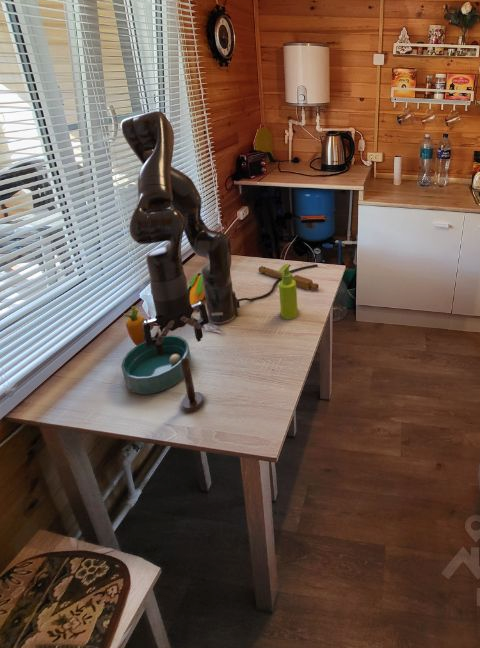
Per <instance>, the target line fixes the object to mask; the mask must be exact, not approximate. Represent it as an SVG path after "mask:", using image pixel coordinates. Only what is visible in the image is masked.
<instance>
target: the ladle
mask: <svg viewBox="0 0 480 648" xmlns="http://www.w3.org/2000/svg"><path fill="white" fill-rule="evenodd" d="M181 366H182V371H183V376H184V377H183V380H184V385H185V390H186V395H185V396H184V397H183V398H182V399H181V407H182V410H183V412H185V413H194V412H197V411H198V410H199V409H201V408H202V407H203V405H204V396H203V394H202V393H201V392H200V391H195V387H194V380H193V376H192V371H191V370H192V369H191V366H190V365H189V360H188V358H186V357H185V358H182V360H181Z"/></svg>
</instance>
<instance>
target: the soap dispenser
mask: <svg viewBox="0 0 480 648" xmlns="http://www.w3.org/2000/svg"><path fill="white" fill-rule="evenodd" d="M291 266H292V265H291V264H288V263H285V264H283V266H281V267H280V268H279V269H278V270H277V271H278V272H279V273H283V274H282V279H281V280H279V281H278V290H279V304H280V316H281V317H282V318H283V319H284V320H292V319H295V318H296V317H297V316H298V313H299V311H298V310H299V309H298V296H297V295H298V294H297V293H298V292H297V286H296V281H295V280H293V279H292V276H293V274H292V272H291V273H290V272H289V271H290V267H291Z"/></svg>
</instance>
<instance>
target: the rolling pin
mask: <svg viewBox="0 0 480 648" xmlns="http://www.w3.org/2000/svg"><path fill="white" fill-rule="evenodd" d="M258 272H259V273H261V274H265V275H267V276H270V277H274V278H278V279H279V278H280V280H282V274H283V273H279V272H278V270H275V269H273V268H269V267H266V266H263V265H261V266H259V267H258ZM292 279H293V280H295V281H296V288H300V289H304V290H307V291H309V290H311V289H312V290H313V291H317V290H318V289H319V283H316V282H315V283H314V282H313V280H312V279H311V278H307V277H304V276H301V275H297V274H296V275H292Z"/></svg>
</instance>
